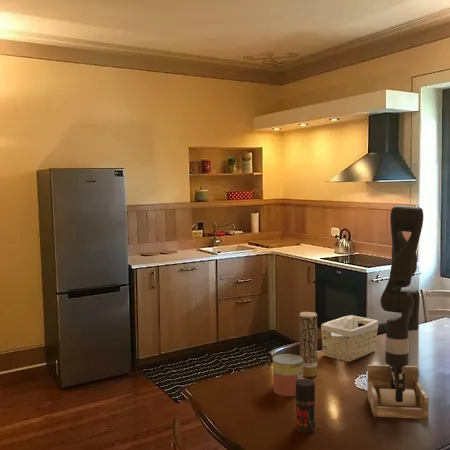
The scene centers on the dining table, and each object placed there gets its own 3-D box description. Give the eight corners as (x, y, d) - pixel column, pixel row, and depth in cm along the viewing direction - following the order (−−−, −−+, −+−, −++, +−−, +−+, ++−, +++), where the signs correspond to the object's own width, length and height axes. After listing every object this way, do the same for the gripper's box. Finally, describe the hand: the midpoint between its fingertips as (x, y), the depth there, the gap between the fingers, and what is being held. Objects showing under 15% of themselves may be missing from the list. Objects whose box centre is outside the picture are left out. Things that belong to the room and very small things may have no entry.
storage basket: (349, 344, 246) (349, 313, 245) (380, 351, 234) (380, 319, 233) (319, 356, 230) (319, 323, 229) (350, 365, 218) (350, 331, 217)
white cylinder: (378, 399, 180) (379, 385, 178) (411, 400, 178) (412, 386, 177) (380, 408, 174) (381, 394, 173) (415, 410, 173) (416, 395, 171)
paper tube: (317, 378, 204) (316, 316, 202) (299, 377, 205) (299, 315, 203) (317, 372, 211) (317, 312, 209) (300, 371, 212) (300, 311, 210)
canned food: (299, 397, 186) (299, 365, 185) (269, 394, 190) (269, 362, 189) (306, 386, 197) (305, 355, 196) (277, 382, 201) (276, 352, 200)
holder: (367, 397, 185) (367, 364, 184) (417, 398, 183) (417, 366, 182) (373, 416, 170) (373, 381, 169) (428, 418, 168) (428, 382, 167)
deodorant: (294, 424, 166) (293, 379, 164) (312, 423, 166) (312, 378, 165) (298, 433, 160) (298, 386, 159) (317, 432, 160) (316, 385, 159)
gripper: (413, 356, 167) (412, 405, 168) (404, 343, 181) (403, 389, 182) (389, 356, 168) (388, 404, 169) (382, 343, 182) (381, 388, 183)
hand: (396, 396), depth 175 cm, fingers open, 8 cm apart
